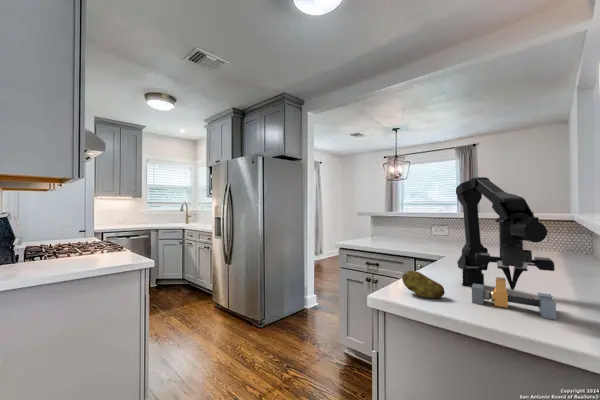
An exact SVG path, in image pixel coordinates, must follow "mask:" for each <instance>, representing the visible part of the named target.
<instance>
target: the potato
mask: <svg viewBox="0 0 600 400" xmlns="http://www.w3.org/2000/svg"><path fill="white" fill-rule="evenodd" d="M401 278H402V282H403V284H404V286H405V287H406V289H408V290H409V291H411V292H413V293H414V294H416V295H417V296H419V297H422V298H426V299H439V298H441V297H443V296H444V295H445V292H446V291H445V288H444V287H443V285H442V284H440V283H439V282H437V281H435V280H433V279H432V278H430V277H428V276H426V275H425V274H423V273H421V272H419V271H415V270H409V271H406V272H405V273H404V272H403V275H402V276H401Z"/></svg>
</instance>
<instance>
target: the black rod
mask: <svg viewBox="0 0 600 400" xmlns="http://www.w3.org/2000/svg"><path fill="white" fill-rule="evenodd" d="M489 300H492V299H491V292H490V291H489ZM508 303H513V304H518V305H519V304H520V305H526V306H533V307H536V308H538V307H540V300H538V298H531V297H524V296H516V295H509V294H508Z"/></svg>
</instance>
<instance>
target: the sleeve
mask: <svg viewBox="0 0 600 400" xmlns="http://www.w3.org/2000/svg"><path fill="white" fill-rule="evenodd" d="M506 283H507V282H506V277H500V276H499V277H498V276H495V287H494V290H493V291H494V294H495V302H494V306H495V307H500V308H501V307H502V308H508V306H509V305H508V303H509V302H508V295H509V294H508V289H507V287H506V285H507V284H506Z"/></svg>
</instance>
